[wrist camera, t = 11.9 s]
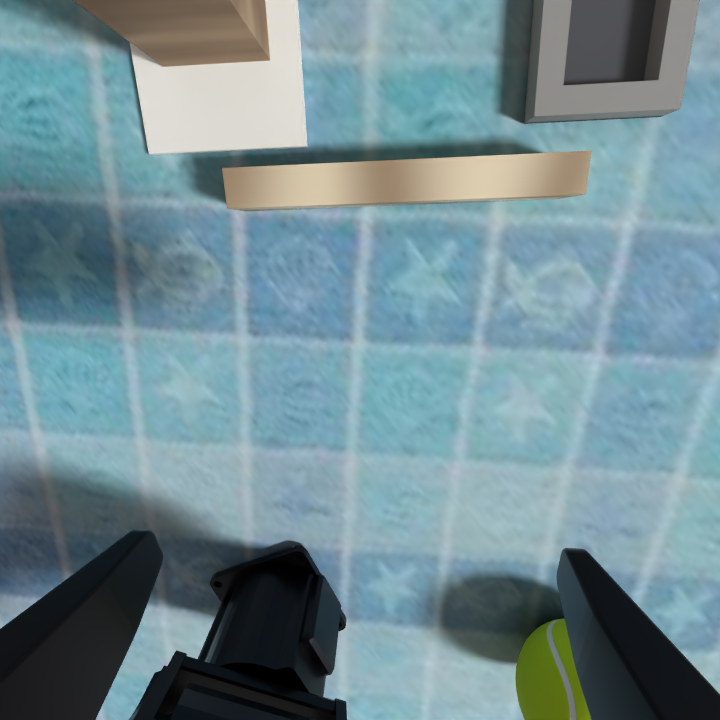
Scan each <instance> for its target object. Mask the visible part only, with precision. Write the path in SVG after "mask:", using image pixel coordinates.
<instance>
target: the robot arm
mask: <svg viewBox="0 0 720 720" xmlns="http://www.w3.org/2000/svg"><path fill="white" fill-rule="evenodd" d="M298 554H299V555H301V556H297V555H298ZM162 561H163V552H162V549H161V547H160V545H159V543H158V541H157V539H156V536H155V534H154V533H153V531H151V530H144V529H135V530H133V531H131V532H129V533H128V534H126V535H125V536H124V537H122V538H121V539H120V540H118V541H117V542H116V543H114V544H113V545H112V546H110V547H109V548H108V549H106V550H105V551H104V552H102V553H101V554H100V555H98V556H97V557H96V558H94V559H93V560H92V561H90V562H89V563H88V564H86V565H85V566H84V567H82V568H81V569H80V570H78V571H77V572H76V573H74V574H73V575H72V576H70V577H69V578H68V579H66V580H65V581H64V582H62V583H61V584H60V585H58V586H57V587H56V588H54V589H53V590H52V591H50V592H49V593H48V594H46V595H45V596H44V597H42V598H41V599H40V600H38V601H37V602H36V603H34V604H33V605H32V606H30V607H29V608H28V609H26V610H25V611H24V612H22V613H21V614H20V615H18V616H17V617H16V618H14V619H13V620H12V621H10V622H9V623H8V624H6V625H5V626H4V627H2V628H1V629H0V720H95V719H96V717H97V715H98V713H99V711H100V709H101V706H102V704H103V702H104V700H105V698H106V696H107V694H108V692H109V690H110V687H111V685H112V683H113V681H114V679H115V677H116V675H117V673H118V671H119V668H120V666H121V664H122V662H123V660H124V658H125V656H126V654H127V651H128V649H129V647H130V645H131V643H132V641H133V638H134V636H135V634H136V632H137V629H138V627H139V624H140V622H141V619H142V616H143V614H144V611H145V608H146V605H147V603H148V600H149V597H150V595H151V592H152V589H153V587H154V584H155V581H156V578H157V576H158V573H159V570H160V568H161V565H162ZM218 581H219V582H218ZM557 585H558V590H559V595H560V600H561V604H562V609H563V614H564V618H565V623H566V628H567V632H568V637H569V642H570V646H571V651H572V655H573V660H574V664H575V668H576V672H577V675H578V679H579V682H580V686H581V689H582V692H583V695H584V698H585V701H586V704H587V707H588V711H589V714H590V717H591V720H720V694H719V693H718V692H717V691H716V690H715V689H714V688H713V686H712V685H711V684H710V683H709V682H708V681H707V680H706V679H705V678H704V677H703V676H702V675H701V673H700V672H699V671H698V670H697V669H696V668H695V667H694V666H693V665H692V664H691V663H690V662H689V661H688V659H687V658H686V657H685V656H684V655H683V654H682V653H681V652H680V651H679V650H678V649H677V648H676V646H675V645H674V644H673V643H672V642H671V641H670V640H669V639H668V638H667V637H666V636H665V635H664V634H663V632H662V631H661V630H660V629H659V628H658V627H657V626H656V625H655V624H654V623H653V622H652V621H651V619H650V618H649V617H648V616H647V615H646V614H645V613H644V612H643V611H642V610H641V609H640V608H639V607H638V605H637V604H636V603H635V602H634V601H633V600H632V599H631V598H630V597H629V596H628V595H627V594H626V592H625V591H624V590H623V589H622V588H621V587H620V586H619V585H618V584H617V583H616V582H615V581H614V580H613V578H612V577H611V576H610V575H609V574H608V573H607V572H606V571H605V570H604V569H603V568H602V567H601V565H600V564H599V563H598V562H597V561H596V560H595V559H594V558H593V557H592V556H591V555H590V554H589V553H588V552H587V551H586V550H584V549H576V548H565V549H563V550H562V553H561V557H560V561H559V566H558V570H557ZM210 586H211V587H212V589H213V590H214V592H215V593H216V595H217V596H218V598H219V599H220V601H221V602H222V603H221V606H220V608H219V610H218V613H217V615H216V617H215V620H214V622H213V624H212V627H211V629H210V631H209V634H208V636H207V638H206V641H205V643H204V645H203V648H202V650H201V652H200V655H199V657H198V659H195V658H191V657H188V656H187V654H186V653H183V652H180V651H176V652H175V654H174V655H173V657H172V659H171V661H170V663H169V664H168V666H164V667H163V668H162V670H161V671H159V672H156V673H155V674H154V676H153V677H152V679H151V681H150V683H149V685H148V687H147V689H146V691H145V693H144V695H143V697H142V699H141V701H140V703H139V704H138V706H137V708H136V710H135V711H134V713H133V714H132V716H131V717H130V719H129V720H347V711H346V701H343V700H339V699H336V698H335V700H332V699H328V698H325V697H323V695H324V687H325V679H326V676H327V675H331V674H332V672H333V670H334V665H335V656H336V647H337V638H338V631H341V630H343V629H344V628H345V626H346V617H345V615H344V613H343V612H342V610H341V604H340V602H339V601H338V599H337V597H336V595H335V594H334V592H333V590H332V589H331V587H330V585H329V583H328V582H327V580H326V578H325V577H324V576H323V575H322V574H320V572H319V570H318V568H317V567H316V565H315V563H314V562H313V560H312V558H311V556H310V555H309V553H308V551H307V550H306V549H305V548H304V547H302V546H296V547H293V548H290V549H287V550H284V551H281V552H278V553H275V554H272V555H269V556H266V557H263V558H260V559H257V560H254V561H251V562H248V563H245V564H242V565H239V566H236V567H233V568H230V569H227V570H224V571H221V572H218V573H216V574H214V575H213V577H212V579H211V581H210Z"/></svg>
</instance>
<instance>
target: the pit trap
mask: <svg viewBox="0 0 720 720" xmlns="http://www.w3.org/2000/svg"><path fill="white" fill-rule="evenodd" d="M699 2H700V0H534V2H533V16H532V29H531V42H530V55H529V68H528V81H527V95H526V108H525V121H524V124H528V123H548V122H567V121H587V120H607V119H626V118H646V117H661V116H664V115H666V114H669V113H671V112H674V111H676V110H679V109H681V104H682V99H683V93H684V87H685V82H686V76H687V70H688V65H689V59H690V53H691V48H692V42H693V36H694V31H695V25H696V19H697V14H698V8H699Z"/></svg>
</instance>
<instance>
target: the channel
mask: <svg viewBox="0 0 720 720" xmlns="http://www.w3.org/2000/svg"><path fill="white" fill-rule="evenodd" d="M590 157H591V151H577V152H556V153H534V154H513V155H491V156H470V157H448V158H427V159H405V160H384V161H363V162H341V163H320V164H298V165H277V166H255V167H234V168H222V171H223V179H224V187H225V195H226V203H227V209H233V210H241V211H264V210H288V209H313V208H338V207H363V206H388V205H413V204H438V203H463V202H488V201H513V200H538V199H560V198H566V197H572V196H578V195H585V194H586V190H587V182H588V173H589V165H590Z"/></svg>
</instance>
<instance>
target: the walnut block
mask: <svg viewBox="0 0 720 720" xmlns="http://www.w3.org/2000/svg"><path fill="white" fill-rule="evenodd" d="M73 1H74V2H76V3H77V4H78V5H80V6H81V7H83V8H84V9H85V10H87V11H88V12H89V13H91V14H92V15H93V16H95V17H96V18H98V19H99V20H100V21H102V22H103V23H104V24H106V25H107V26H108V27H110V28H111V29H113V30H114V31H115V32H117V33H118V34H119V35H121V36H122V37H123V38H125V39H126V40H128V41H129V42H130V43H132V44H133V45H134V46H136V47H137V48H138V49H140V50H141V51H143V52H144V53H145V54H147V55H148V56H149V57H151V58H152V59H153V60H155V61H156V62H157V63H159V64H160V65H162V66H163V67H169V66H186V65H203V64H220V63H237V62H253V61H270V51H269V39H268V28H267V16H266V4H265V0H73Z"/></svg>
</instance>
